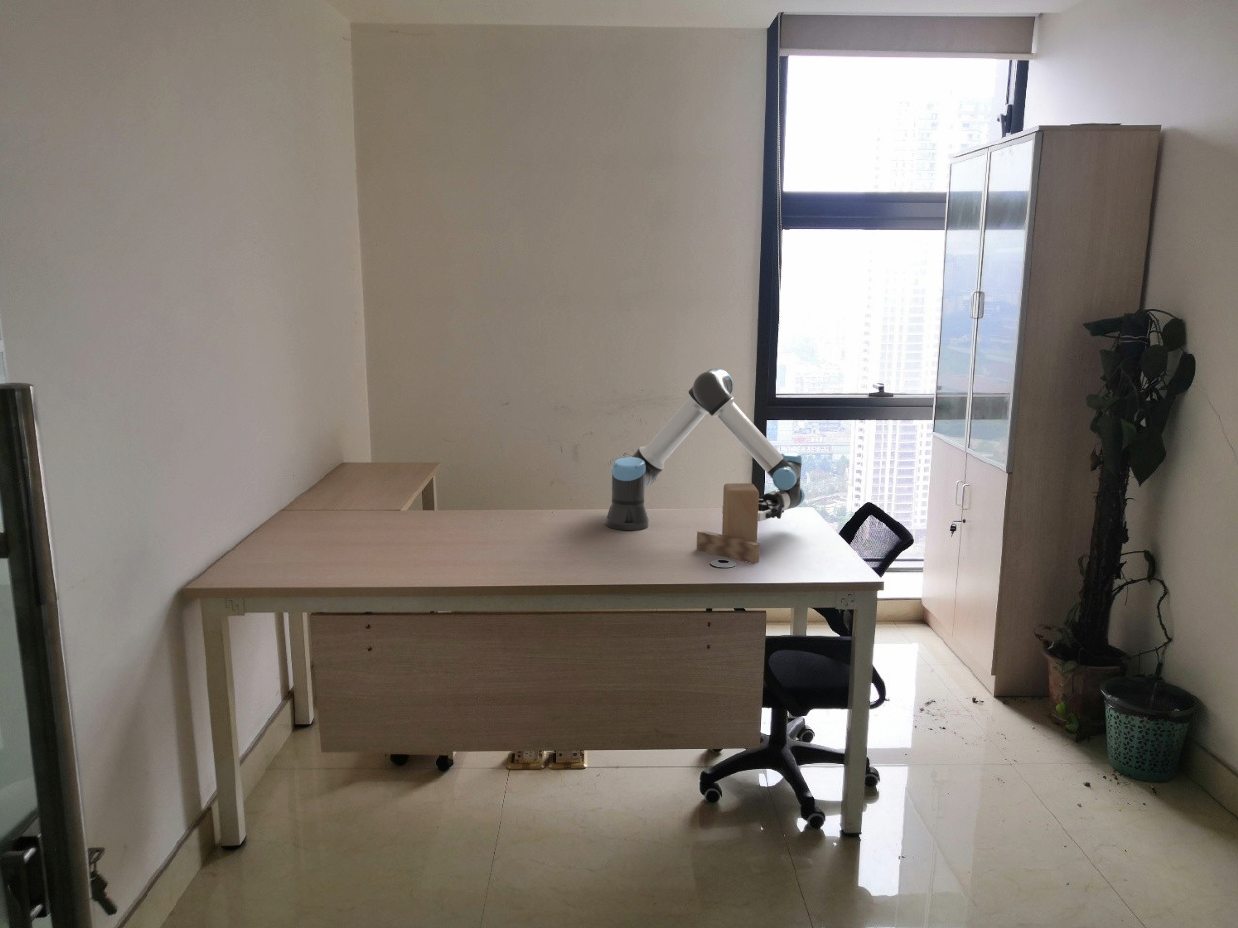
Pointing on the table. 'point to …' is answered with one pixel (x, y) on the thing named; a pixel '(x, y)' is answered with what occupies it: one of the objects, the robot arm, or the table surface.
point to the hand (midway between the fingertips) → (740, 513)
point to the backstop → (728, 546)
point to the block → (740, 511)
